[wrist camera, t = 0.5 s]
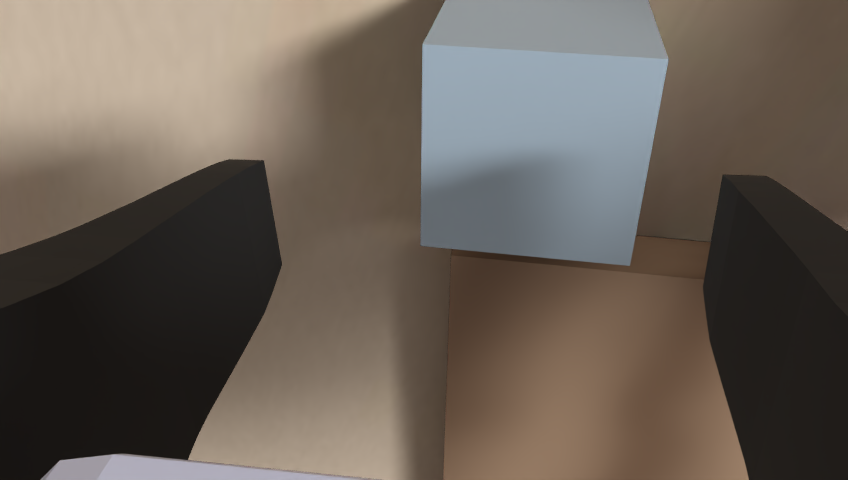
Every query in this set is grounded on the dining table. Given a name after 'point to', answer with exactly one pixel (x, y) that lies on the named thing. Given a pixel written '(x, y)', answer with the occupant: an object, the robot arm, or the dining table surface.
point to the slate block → (539, 126)
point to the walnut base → (585, 369)
